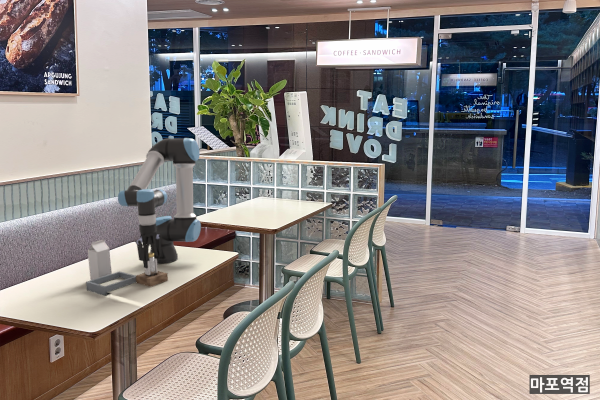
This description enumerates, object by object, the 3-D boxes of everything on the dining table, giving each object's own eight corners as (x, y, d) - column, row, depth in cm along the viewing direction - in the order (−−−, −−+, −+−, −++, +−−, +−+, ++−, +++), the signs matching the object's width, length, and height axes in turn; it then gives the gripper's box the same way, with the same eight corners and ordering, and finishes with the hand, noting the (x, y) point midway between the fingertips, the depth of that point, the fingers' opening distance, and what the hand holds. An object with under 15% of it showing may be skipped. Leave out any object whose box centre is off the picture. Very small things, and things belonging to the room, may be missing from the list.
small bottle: (152, 279, 254) (150, 252, 251) (157, 281, 252) (155, 253, 249) (146, 282, 251) (144, 253, 248) (151, 283, 249) (149, 255, 246)
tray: (120, 279, 261) (119, 271, 260) (139, 284, 253) (138, 276, 252) (86, 290, 247) (85, 281, 246) (105, 296, 238) (104, 287, 238)
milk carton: (112, 278, 262) (108, 240, 259) (99, 282, 257) (95, 243, 253) (102, 276, 266) (99, 238, 263) (90, 280, 261) (86, 242, 257)
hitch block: (154, 279, 258) (153, 269, 258) (168, 283, 253) (167, 273, 252) (136, 285, 251) (135, 275, 250) (150, 289, 245) (150, 279, 244)
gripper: (156, 219, 255) (160, 267, 259) (127, 226, 242) (131, 276, 246) (167, 221, 251) (170, 269, 255) (137, 228, 238) (142, 279, 242)
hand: (151, 273), depth 251 cm, fingers closed on small bottle, 3 cm apart
